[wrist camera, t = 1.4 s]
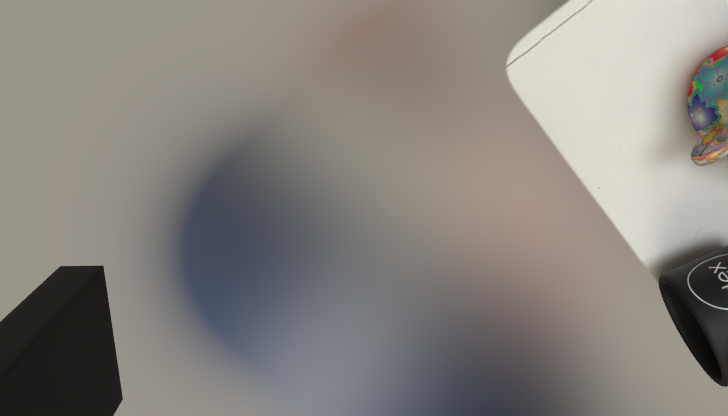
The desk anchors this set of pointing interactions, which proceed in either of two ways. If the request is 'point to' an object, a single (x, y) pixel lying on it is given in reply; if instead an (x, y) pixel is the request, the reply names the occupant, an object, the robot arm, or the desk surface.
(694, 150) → the mug
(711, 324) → the mug
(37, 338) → the robot arm
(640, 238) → the desk surface
